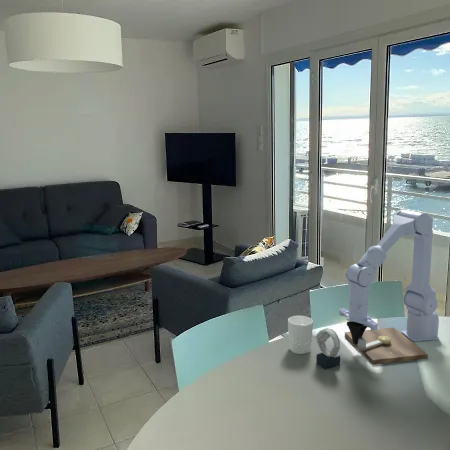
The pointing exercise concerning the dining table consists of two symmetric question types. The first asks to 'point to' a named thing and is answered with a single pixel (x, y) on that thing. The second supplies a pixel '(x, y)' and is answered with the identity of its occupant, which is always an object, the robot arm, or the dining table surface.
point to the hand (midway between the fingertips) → (356, 343)
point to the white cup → (300, 334)
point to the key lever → (364, 346)
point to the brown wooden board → (389, 347)
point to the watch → (327, 357)
